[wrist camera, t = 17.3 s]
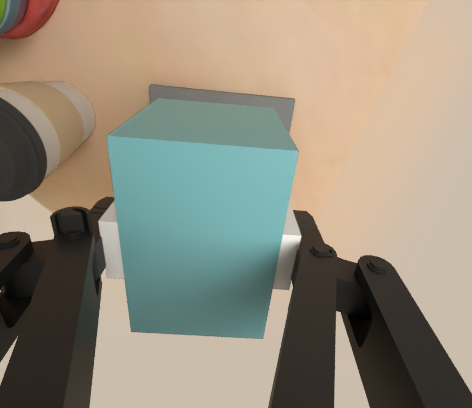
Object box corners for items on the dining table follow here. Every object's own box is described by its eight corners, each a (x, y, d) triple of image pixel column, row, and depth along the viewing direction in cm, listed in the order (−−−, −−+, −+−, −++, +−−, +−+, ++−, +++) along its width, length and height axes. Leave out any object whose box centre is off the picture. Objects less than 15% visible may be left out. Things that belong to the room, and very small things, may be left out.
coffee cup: (55, 51, 31) (-73, 60, 18) (121, 118, 35) (53, 167, 22) (8, 106, 34) (-133, 149, 21) (74, 164, 38) (-13, 232, 25)
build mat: (151, 84, 33) (149, 85, 32) (293, 98, 34) (295, 99, 33) (155, 189, 39) (154, 192, 39) (275, 199, 40) (276, 202, 39)
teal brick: (157, 97, 15) (106, 135, 9) (273, 107, 16) (298, 151, 9) (163, 241, 20) (131, 331, 14) (254, 247, 20) (262, 338, 14)
